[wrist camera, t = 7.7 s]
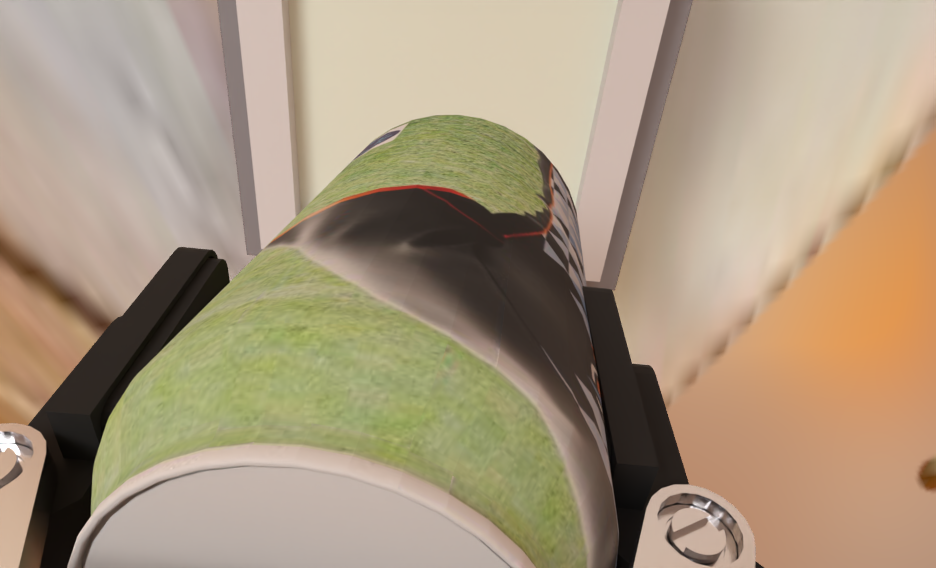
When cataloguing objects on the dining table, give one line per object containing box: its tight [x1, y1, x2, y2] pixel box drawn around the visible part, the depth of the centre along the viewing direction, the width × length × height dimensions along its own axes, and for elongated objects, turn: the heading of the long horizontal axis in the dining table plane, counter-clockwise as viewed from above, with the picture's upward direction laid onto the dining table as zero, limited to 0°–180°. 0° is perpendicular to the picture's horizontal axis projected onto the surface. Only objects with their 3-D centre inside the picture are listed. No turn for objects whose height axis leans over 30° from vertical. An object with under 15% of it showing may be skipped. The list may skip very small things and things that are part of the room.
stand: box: [217, 0, 693, 290], centre depth 26 cm, size 16×16×9 cm
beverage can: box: [67, 115, 619, 568], centre depth 11 cm, size 6×7×12 cm
